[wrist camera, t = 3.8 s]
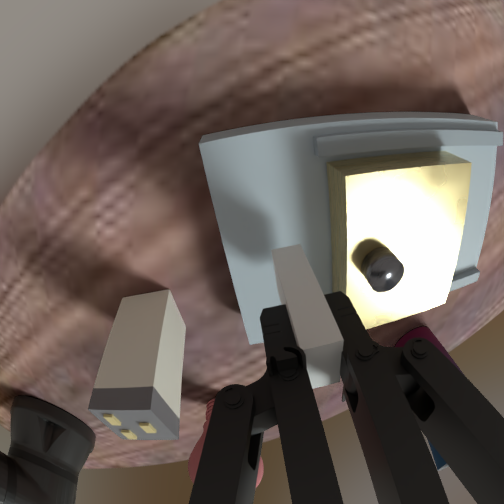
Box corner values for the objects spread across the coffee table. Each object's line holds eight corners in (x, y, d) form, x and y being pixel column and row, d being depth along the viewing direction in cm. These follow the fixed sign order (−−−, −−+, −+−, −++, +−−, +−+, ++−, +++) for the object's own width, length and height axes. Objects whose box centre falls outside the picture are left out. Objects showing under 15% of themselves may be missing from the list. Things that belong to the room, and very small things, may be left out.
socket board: (246, 316, 23) (250, 350, 20) (202, 135, 16) (197, 146, 13) (453, 264, 23) (475, 286, 20) (470, 114, 16) (503, 124, 13)
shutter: (332, 309, 19) (350, 349, 16) (326, 162, 14) (356, 184, 11) (427, 282, 19) (453, 313, 16) (444, 150, 14) (486, 169, 11)
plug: (142, 333, 23) (122, 441, 14) (122, 297, 21) (87, 412, 12) (185, 327, 23) (178, 442, 14) (169, 289, 21) (150, 413, 12)
